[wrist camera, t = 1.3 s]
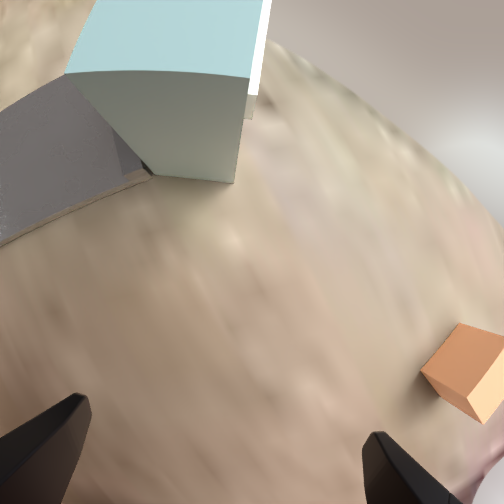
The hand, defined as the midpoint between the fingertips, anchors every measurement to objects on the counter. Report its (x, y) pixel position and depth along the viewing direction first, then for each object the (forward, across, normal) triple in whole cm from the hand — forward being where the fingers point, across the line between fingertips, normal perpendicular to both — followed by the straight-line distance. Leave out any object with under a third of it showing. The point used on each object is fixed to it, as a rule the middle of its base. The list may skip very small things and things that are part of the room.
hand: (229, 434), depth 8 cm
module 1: (+15, +4, -8) cm, 17 cm away
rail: (+12, +20, -4) cm, 24 cm away
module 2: (+11, -18, +5) cm, 22 cm away
